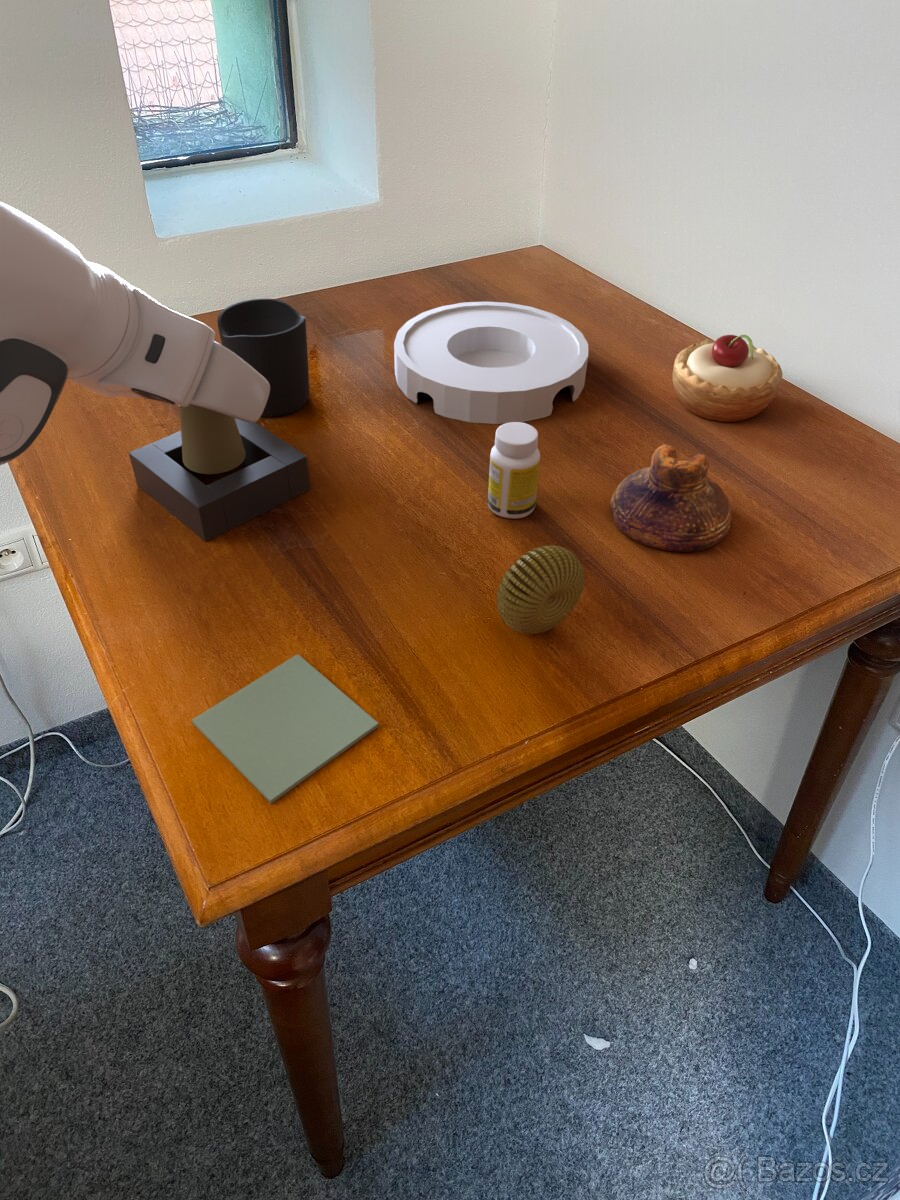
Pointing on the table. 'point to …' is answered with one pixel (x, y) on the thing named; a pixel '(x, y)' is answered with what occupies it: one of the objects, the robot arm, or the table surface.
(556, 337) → the ashtray
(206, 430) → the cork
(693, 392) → the pastry
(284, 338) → the pen holder
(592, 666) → the table surface
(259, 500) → the holder stand
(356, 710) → the mat
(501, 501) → the supplement bottle
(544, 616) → the sculpture
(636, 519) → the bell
